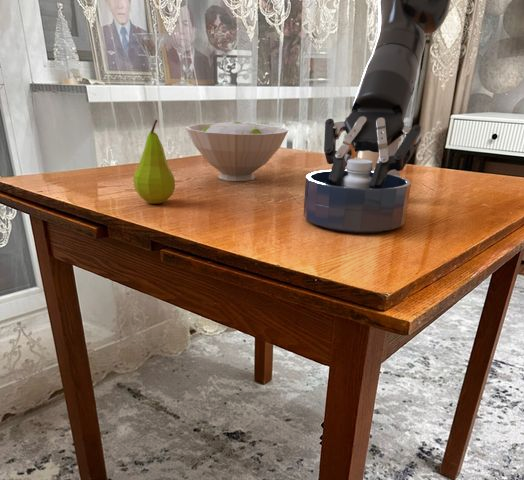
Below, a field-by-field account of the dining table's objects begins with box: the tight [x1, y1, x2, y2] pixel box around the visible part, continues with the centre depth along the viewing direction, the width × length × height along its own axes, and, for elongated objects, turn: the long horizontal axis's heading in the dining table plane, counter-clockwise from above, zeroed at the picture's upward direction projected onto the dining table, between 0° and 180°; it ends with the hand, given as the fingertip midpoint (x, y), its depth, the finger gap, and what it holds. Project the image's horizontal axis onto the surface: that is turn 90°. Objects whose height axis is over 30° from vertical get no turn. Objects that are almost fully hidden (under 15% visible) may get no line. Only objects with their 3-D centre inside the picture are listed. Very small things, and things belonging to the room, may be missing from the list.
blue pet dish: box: [302, 169, 412, 234], centre depth 76 cm, size 14×14×6 cm
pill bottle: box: [342, 158, 373, 188], centre depth 75 cm, size 4×4×8 cm
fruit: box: [132, 119, 176, 205], centre depth 81 cm, size 6×6×12 cm
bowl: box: [185, 121, 289, 182], centre depth 103 cm, size 19×19×10 cm
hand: (353, 188), depth 74 cm, fingers open, 4 cm apart
